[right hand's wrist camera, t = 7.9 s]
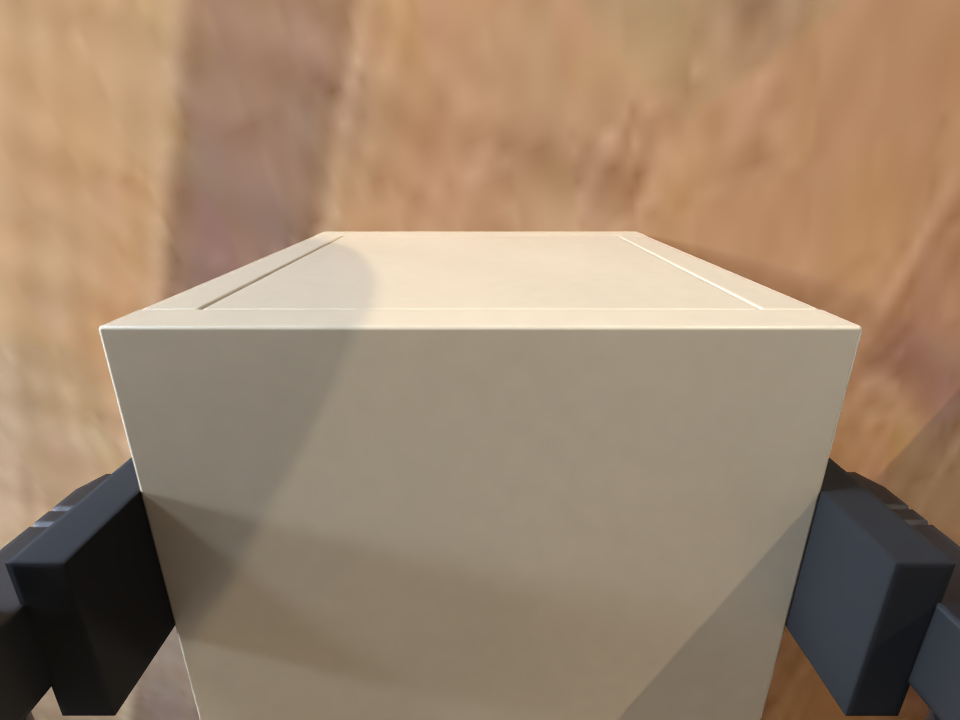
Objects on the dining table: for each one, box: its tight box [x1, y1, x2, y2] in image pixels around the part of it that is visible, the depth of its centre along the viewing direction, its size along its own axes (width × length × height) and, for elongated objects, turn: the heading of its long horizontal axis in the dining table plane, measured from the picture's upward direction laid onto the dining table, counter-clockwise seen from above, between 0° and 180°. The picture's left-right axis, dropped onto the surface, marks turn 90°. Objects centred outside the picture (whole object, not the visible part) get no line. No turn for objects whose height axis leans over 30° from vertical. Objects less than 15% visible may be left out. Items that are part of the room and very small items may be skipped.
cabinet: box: [99, 232, 862, 720], centre depth 16 cm, size 22×10×11 cm, turn 0°
